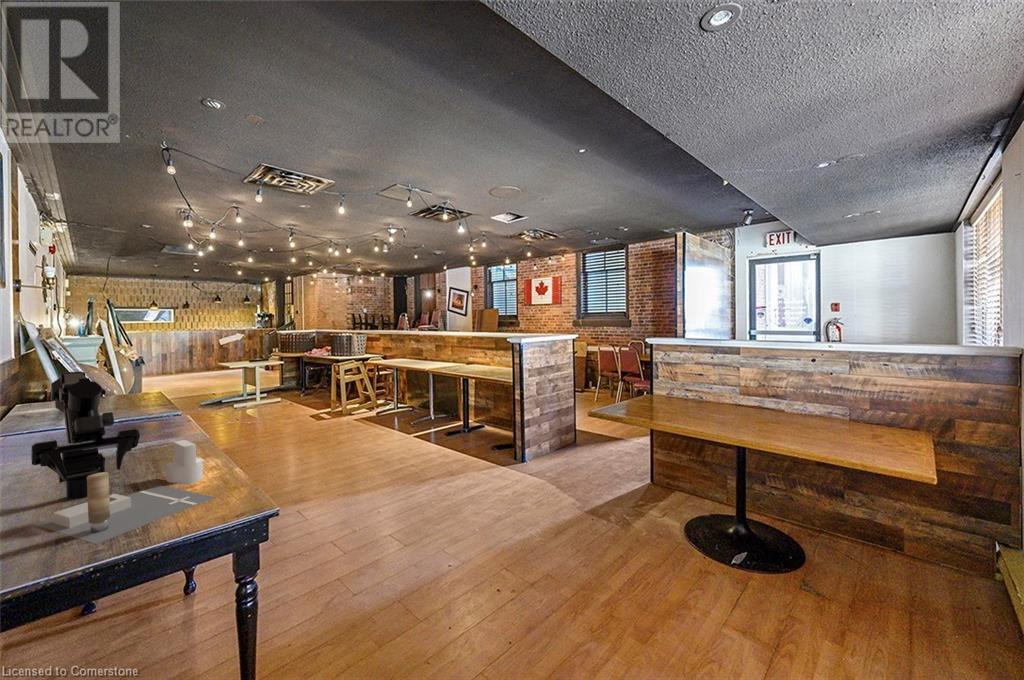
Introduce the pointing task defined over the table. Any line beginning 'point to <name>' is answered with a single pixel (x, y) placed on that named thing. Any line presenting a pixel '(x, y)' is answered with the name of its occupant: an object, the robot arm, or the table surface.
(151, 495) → the floor panel
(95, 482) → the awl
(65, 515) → the white flat block
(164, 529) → the table surface
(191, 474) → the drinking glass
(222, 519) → the table surface
